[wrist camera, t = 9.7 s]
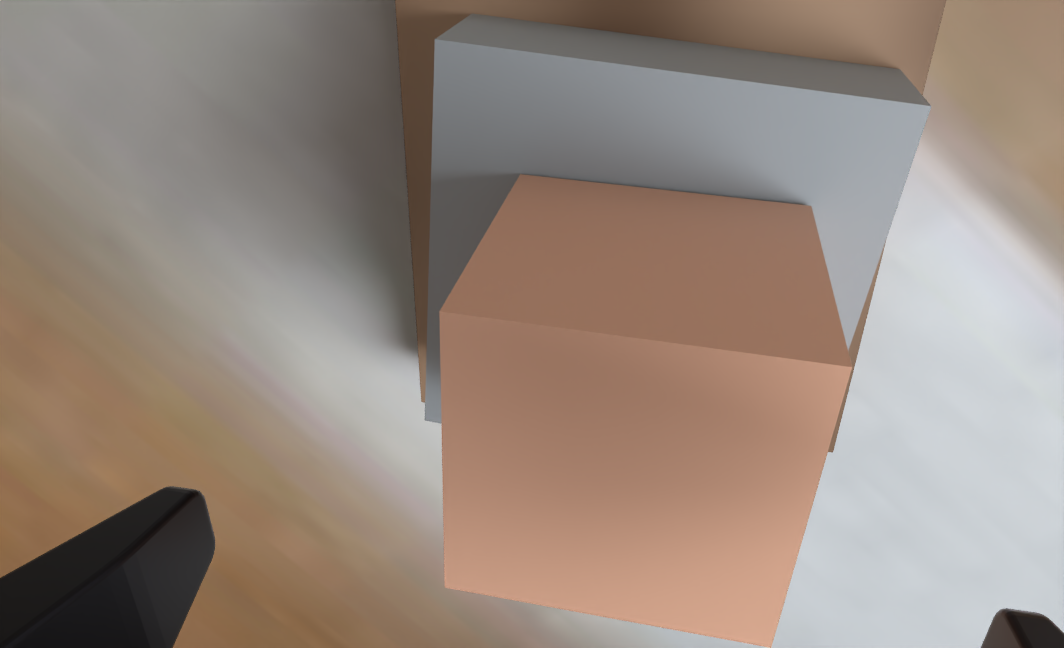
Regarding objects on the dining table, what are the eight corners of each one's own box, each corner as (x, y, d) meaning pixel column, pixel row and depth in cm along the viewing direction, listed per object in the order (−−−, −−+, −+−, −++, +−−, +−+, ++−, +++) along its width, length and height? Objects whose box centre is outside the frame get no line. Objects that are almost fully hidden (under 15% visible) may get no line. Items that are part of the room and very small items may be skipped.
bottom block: (915, -22, 16) (946, -2, 14) (820, 392, 21) (832, 452, 19) (431, -41, 18) (393, -26, 16) (448, 350, 23) (421, 401, 21)
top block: (900, 69, 15) (931, 106, 13) (790, 419, 19) (800, 491, 17) (472, 13, 16) (434, 39, 14) (455, 359, 20) (424, 420, 18)
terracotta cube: (811, 205, 14) (852, 367, 10) (757, 439, 16) (770, 647, 12) (520, 174, 15) (439, 311, 10) (512, 402, 17) (444, 587, 13)
